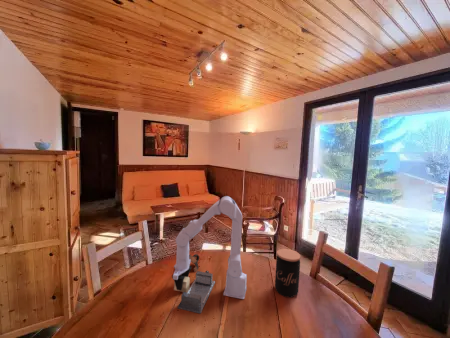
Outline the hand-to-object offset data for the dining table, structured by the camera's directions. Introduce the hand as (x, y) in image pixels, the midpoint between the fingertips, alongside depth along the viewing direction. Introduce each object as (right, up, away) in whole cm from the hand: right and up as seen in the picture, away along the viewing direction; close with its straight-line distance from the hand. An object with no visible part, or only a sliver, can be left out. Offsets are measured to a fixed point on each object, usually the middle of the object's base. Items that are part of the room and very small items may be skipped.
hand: (181, 285), depth 92 cm
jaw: (+10, -1, +6) cm, 12 cm away
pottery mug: (+1, -1, +18) cm, 18 cm away
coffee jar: (+49, -4, +2) cm, 49 cm away
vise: (+8, -2, -3) cm, 9 cm away
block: (0, -2, 0) cm, 2 cm away
